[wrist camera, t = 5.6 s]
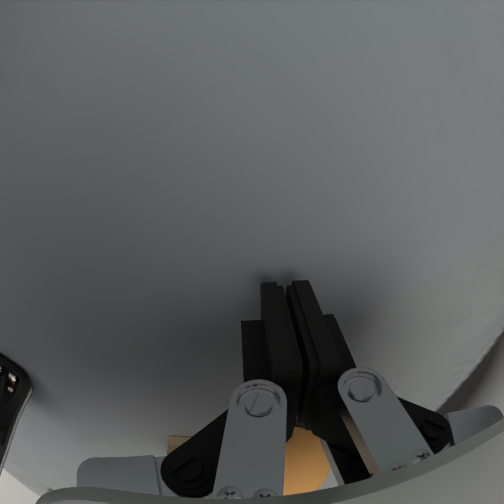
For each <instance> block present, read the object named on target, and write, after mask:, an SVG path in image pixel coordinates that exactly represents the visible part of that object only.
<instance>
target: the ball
mask: <svg viewBox="0 0 504 504" xmlns="http://www.w3.org/2000/svg"><path fill="white" fill-rule="evenodd" d="M329 470H330V464H329V462H328V459H327V457H326V455H325V452H324V450H323V448H322V445H321V442H320V438H319V437H317V436H315V435H313V434H312V432H311V431H309V430H307V431H306V429H304V428H300V427H294V430H293V435H292V437H291V439H290V440H289V441H288V442H287V443H286V448H285V471H284V490H283V496H284V495H292V494H299V493H306V492H312V491H316V490H317V489H318V488H319V487H320V486H321V485H322V484H323V483H324V481H325V480H326V478H327V476H328V474H329Z"/></svg>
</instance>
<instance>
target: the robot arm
mask: <svg viewBox="0 0 504 504" xmlns="http://www.w3.org/2000/svg"><path fill="white" fill-rule="evenodd" d="M241 329H242V353H243V374H244V383H243V384H241V385H239V386H238V387H237V388H236V389H235V390H234V391H233V393H232V396H231V398H230V404H229V409H227V410H226V411H225V412H224V413H222V414H221V415H220V416H219V417H217V418H216V419H215V420H214V421H212V422H211V423H210V424H208V425H207V426H206V427H205V428H203V429H202V430H201V431H199V432H198V433H197V434H195V435H194V436H193V437H191V438H190V439H189V440H187V441H186V442H184V443H183V444H182V445H180V446H179V447H177V448H176V449H175V450H173V451H172V452H170V453H169V454H168V455H167V456H163V457H154V456H153V455H147V456H133V457H101V458H99V457H95V458H89V459H87V460H85V461H83V462H82V463H81V465H80V466H79V467H78V471H77V487H70V488H61V489H57V490H53V491H50V492H47V493H45V494H44V495H42V496H41V497H40V498H39V499H38V501H37V502H36V504H504V416H503V414H502V412H501V411H500V410H499V409H498V408H497V407H495V406H493V405H486V406H482V407H477V408H473V409H468V410H462V411H457V412H451V413H447V415H446V416H442V415H440V414H438V413H436V412H434V411H431V410H428V409H426V408H423V407H421V406H418V405H416V404H414V403H411V402H409V401H406V400H404V399H402V398H399V397H397V396H396V395H395V394H394V392H393V391H392V389H391V388H390V386H389V385H388V383H387V382H386V380H385V379H384V378H383V377H382V376H381V375H380V374H379V373H378V372H376V371H374V370H372V369H369V368H360V367H359V368H357V367H356V365H355V363H354V360H353V358H352V356H351V353H350V351H349V349H348V346H347V344H346V342H345V339H344V337H343V335H342V332H341V330H340V328H339V326H338V323H337V321H336V319H335V317H334V315H332V314H328V315H323V314H322V311H321V309H320V307H319V304H318V302H317V299H316V297H315V294H314V292H313V290H312V287H311V285H310V282H309V281H308V280H302V281H293V282H292V285H287V288H286V296H285V292H284V289H283V286H277V283H276V282H269V283H261V320H251V321H241ZM296 415H297V417H298V421H299V423H304V424H305V429H306V431H307V430H312V434H313V435H315V436H317V437H319V438H320V442H321V445H322V448H323V450H324V452H325V455H326V457H327V459H328V462H329V464H330V466H331V469H332V471H333V473H334V476H335V478H336V480H337V483H338V485H339V486H338V487H333V488H328V489H323V490H318V491H312V492H306V493H299V494H292V495H284V496H283V490H284V471H285V448H286V443H287V442H288V441H289V440H290V439H291V437H292V435H293V430H294V425H295V420H296Z"/></svg>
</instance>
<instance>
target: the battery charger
mask: <svg viewBox="0 0 504 504" xmlns="http://www.w3.org/2000/svg"><path fill="white" fill-rule="evenodd" d="M31 394H32V388H31V386H30V383H29V381H28V379H27V377H26V375H25V374H24V373H23V371H22V370H21V369H19V368H18V367H17V366H16V365H14V364H13V363H12V362H10V361H9V360H7V359H6V358H4V357H3V356H1V355H0V474H1V471H2V469H3V466H4V463H5V460H6V457H7V454H8V451H9V448H10V445H11V442H12V439H13V436H14V433H15V430H16V427H17V424H18V421H19V419H20V417H21V414H22V412H23V410H24V408H25V406H26V404H27V402H28V400H29V398H30V396H31Z"/></svg>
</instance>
